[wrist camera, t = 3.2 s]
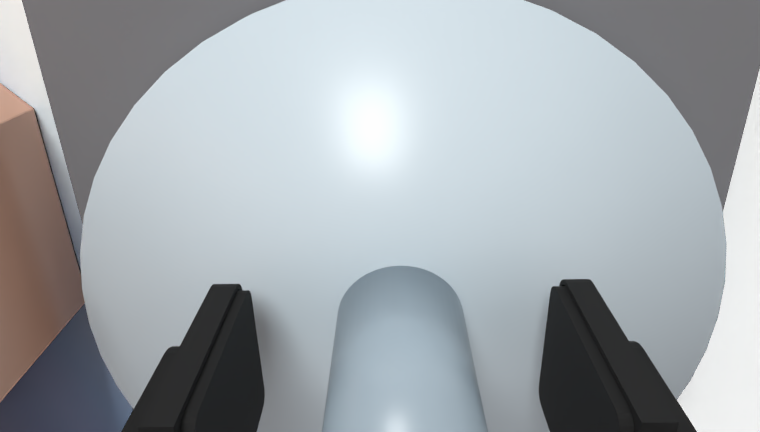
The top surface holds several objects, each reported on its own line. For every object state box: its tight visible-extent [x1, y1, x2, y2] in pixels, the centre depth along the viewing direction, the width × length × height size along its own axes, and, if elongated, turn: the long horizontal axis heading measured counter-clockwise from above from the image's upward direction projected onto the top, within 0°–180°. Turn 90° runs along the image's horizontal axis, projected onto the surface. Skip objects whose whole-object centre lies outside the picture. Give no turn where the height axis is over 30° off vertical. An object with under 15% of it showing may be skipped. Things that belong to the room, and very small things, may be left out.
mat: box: [22, 0, 760, 410], centre depth 14 cm, size 14×14×1 cm
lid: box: [80, 0, 726, 432], centre depth 11 cm, size 14×14×6 cm
